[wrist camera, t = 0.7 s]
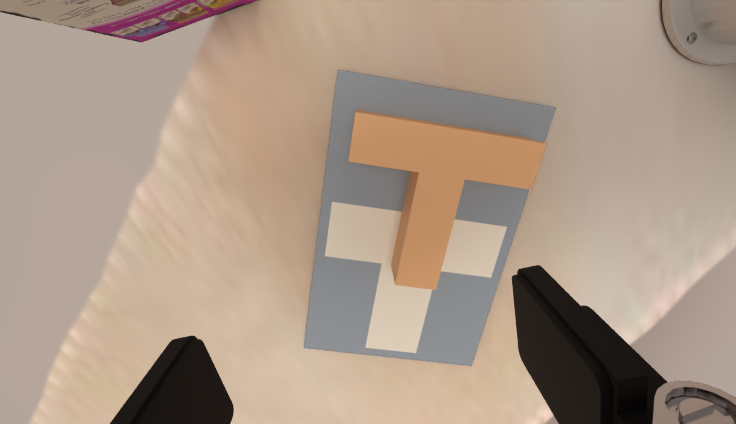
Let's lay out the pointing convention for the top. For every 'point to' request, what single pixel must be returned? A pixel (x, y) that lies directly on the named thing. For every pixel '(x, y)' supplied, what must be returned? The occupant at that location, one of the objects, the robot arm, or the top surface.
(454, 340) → the mat
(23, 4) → the candy bar box
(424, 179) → the t block
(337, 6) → the top surface
